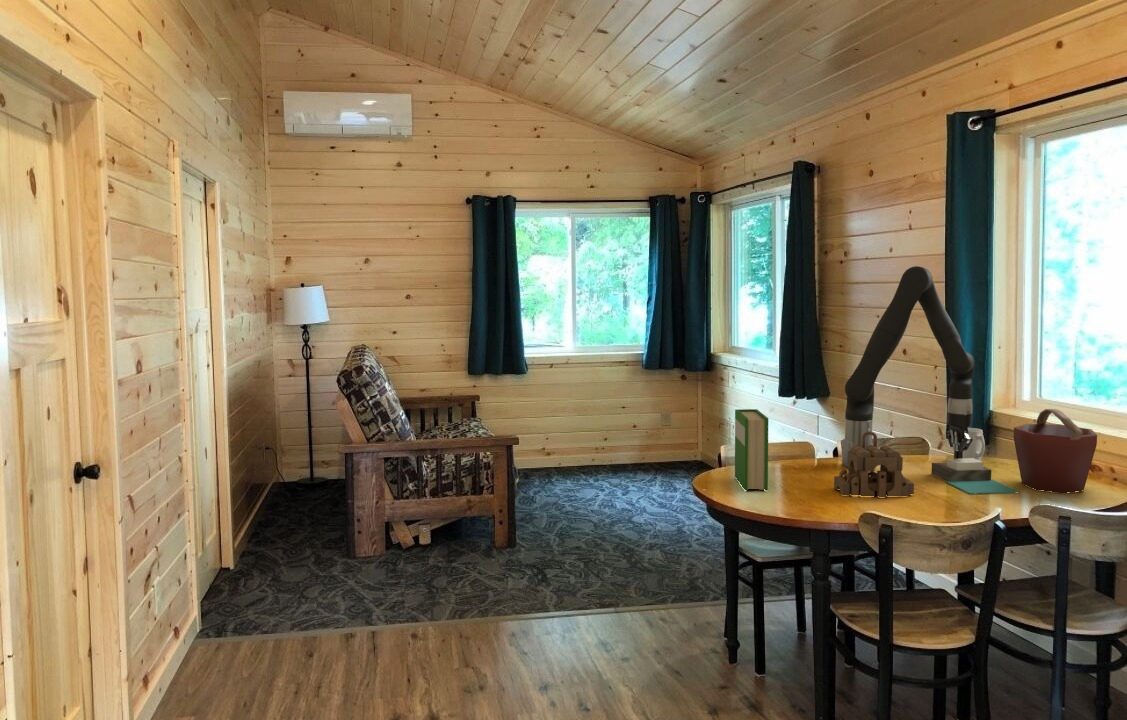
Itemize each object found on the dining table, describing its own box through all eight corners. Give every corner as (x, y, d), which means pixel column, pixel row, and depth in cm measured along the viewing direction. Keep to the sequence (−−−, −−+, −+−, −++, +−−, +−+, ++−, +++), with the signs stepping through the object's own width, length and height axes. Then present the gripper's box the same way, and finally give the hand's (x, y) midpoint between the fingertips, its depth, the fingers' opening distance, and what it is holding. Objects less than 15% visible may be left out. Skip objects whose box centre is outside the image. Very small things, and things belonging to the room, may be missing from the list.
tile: (956, 470, 265) (957, 463, 264) (946, 466, 271) (947, 459, 270) (983, 469, 265) (983, 462, 265) (972, 465, 271) (972, 458, 271)
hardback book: (767, 491, 258) (768, 418, 255) (744, 492, 258) (745, 418, 256) (756, 478, 275) (756, 409, 273) (734, 478, 276) (735, 409, 273)
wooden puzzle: (844, 499, 249) (845, 439, 247) (831, 486, 263) (832, 430, 261) (917, 498, 248) (918, 439, 246) (899, 486, 262) (900, 430, 260)
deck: (949, 483, 264) (949, 471, 264) (931, 474, 276) (931, 462, 276) (991, 481, 265) (991, 469, 264) (971, 472, 277) (971, 461, 276)
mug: (956, 460, 296) (957, 428, 294) (973, 459, 297) (974, 427, 295) (974, 466, 286) (976, 433, 284) (991, 465, 287) (993, 432, 285)
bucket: (1098, 500, 242) (1102, 418, 239) (1015, 493, 251) (1018, 414, 249) (1084, 480, 264) (1088, 406, 261) (1008, 475, 273) (1011, 402, 271)
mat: (969, 494, 250) (969, 492, 250) (945, 482, 265) (945, 480, 265) (1019, 493, 251) (1019, 491, 251) (992, 480, 266) (992, 479, 266)
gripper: (938, 408, 277) (937, 457, 279) (959, 414, 264) (958, 466, 266) (959, 407, 277) (958, 456, 279) (981, 414, 264) (979, 465, 266)
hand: (958, 461), depth 272 cm, fingers closed
